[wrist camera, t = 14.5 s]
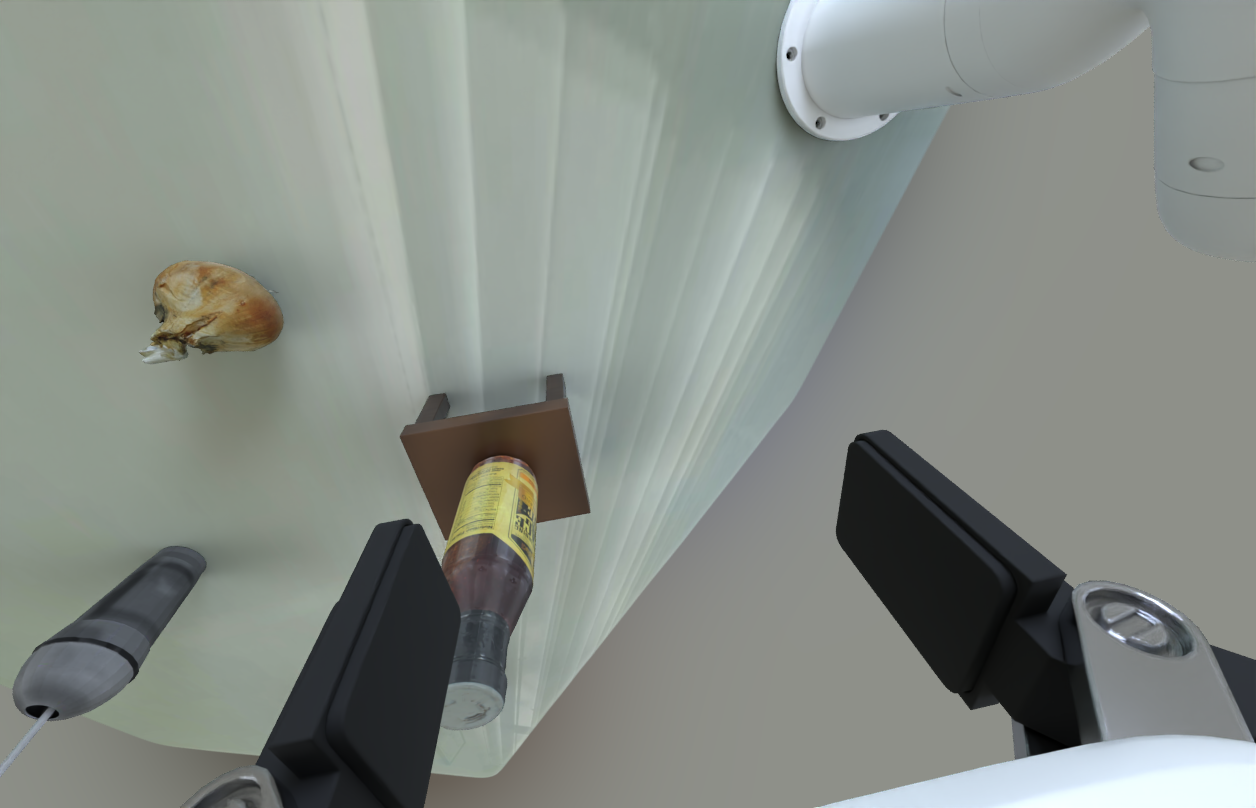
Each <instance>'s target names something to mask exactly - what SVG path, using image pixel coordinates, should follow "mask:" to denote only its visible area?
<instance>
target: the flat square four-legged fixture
mask: <svg viewBox="0 0 1256 808" xmlns="http://www.w3.org/2000/svg"><path fill="white" fill-rule="evenodd" d="M449 408H450V405H449V402H448V399H447V396H446V394H445V393H443V394H437V395H431V396H429V398H428V399H427V401H426V403H425V405H424V407H423V409H422V411H421V413H420V415H419V417H418V419H417V420H416V422H415V424H412V425H406V426H405V428H404V430H403V431H402V433H401V435H400V438H401V441H402V443H403V445H404V448H405V450H406V452H407V454H408V457H409V459H410V461H411V463H412V466H413V468H414V470H415V473H416V475H417V477H418V479H419V482H420V484H421V486H422V488H423V491H424V493H425V495H426V498H427V500H428V502H429V504H430V507H431V509H432V511H433V513H434V516H435V518H436V520H437V523H438V525H439V527H440V529H441V532H442V534H443V536H444V538H445V540H448V539H449V536H450V532H451V529H452V526H453V523H454V519H455V516H456V513H457V509H458V506H459V503H460V500H461V496H462V493H463V490H464V486H465V483H466V481H467V479H468V477H469V476H470V474H471V472H472V470H473V468H474V467H475V465H476V464H478V463H479V462H481V461H483V460H485V459H488V458H490V457H494V456H509V457H513V458H516V459H520V460H522V461H523V462H525V463H526V464H528V466H529V467H530V469H532V471H533V473H534V475H535V478H536V481H537V487H538V503H537V523H540V522H545V521H551V520H556V519H561V518H566V517H572V516H577V515H582V514H587V513H590V504H589V498H588V493H587V488H586V483H585V478H584V474H583V469H582V464H581V459H580V454H579V450H578V445H577V440H576V435H575V431H574V426H573V421H572V416H571V411H570V407H569V402H568V398H566V387H565V382H564V377H563V374H556V375H550V376H547V391H546V401H545V402H540V403H534V404H528V405H522V406H516V407H511V408H505V409H499V410H493V411H487V412H481V413H476V414H470V415H464V416H458V417H452V418H447V419H445V418H446V416H447V413H448V411H449Z"/></svg>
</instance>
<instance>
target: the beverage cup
mask: <svg viewBox="0 0 1256 808" xmlns="http://www.w3.org/2000/svg"><path fill="white" fill-rule="evenodd" d="M205 568H206V561H205V559H204V558H203V557H202V556H201V555H200V554H199V553H197V552H195V551H194V550H191V549H188V548H185V547H178V546H176V547H167V548H164V549H162V550H161V551H159V552H158V553H157V554H156V555H155V556H153V557H152V558H151V559H149V560H148V561H146V562H145V563H144V564H142V565H141V566H140V567H139V568H138V569H136V570H135V571H134V572H133V573H132V574H131V575H129V576H128V577H127V578H126V579H125V580H123V581H122V582H121V583H120V584H119V585H117V586H116V587H115V588H114V589H113V590H111V591H110V592H109V593H108V594H107V595H105V596H104V597H103V598H102V599H101V600H99V601H98V602H97V603H96V604H95V605H93V606H92V607H91V608H90V609H89V610H88V611H86V612H85V613H84V614H83V615H82V616H80V617H79V618H78V619H77V620H76V621H74V622H73V623H71V624H70V625H68V626H67V627H65V628H64V629H62V630H61V631H60V632H58V633H57V634H55V635H54V636H53V637H51V638H50V639H48V640H47V641H45V642H44V643H42V644H41V645H39V646H38V647H36V648H35V650H34V651H33V653H32V655H31V656H30V657H29V658H28V659H27V661H26V662H25V663H24V665H23V666H22V668H21V670H20V672H19V674H18V676H17V678H16V680H15V682H14V686H13V699H14V702H15V705H16V707H17V708H18V709H19V710H20V711H21V713H22V714H24V715H26V716H28V717H31V718H33V719H37V721H36V723H35V724H34V725H33V726H32V728H31V729H30V730H29V731H28V732H27V734H26V735H25V736H24V737H23V738H22V740H21V741H20V742H19V743H18V744H17V746H16V747H15V748H14V749H13V750H12V752H11V753H10V754H9V755H8V756H7V758H6V759H5V760H4V761H3V762H2V764H1V765H0V777H1V776H2V775H3V773H4V772H5V771H6V770H7V768H8V767H9V766H10V765H11V764H12V762H13V761H14V760H15V758H16V757H17V756H18V755H19V754H20V753H21V751H22V750H23V749H24V748H25V746H26V745H27V744H28V743H29V742H30V740H31V739H32V738H33V737H34V736H35V734H36V733H37V732H38V731H39V729H40V728H41V727H42V726H43V725H44V723H45V722H46V721H56V720H64V719H68V718H72V717H75V716H78V715H82V714H84V713H87V712H89V711H91V710H93V709H95V708H97V707H98V706H100V705H102V704H103V703H105V702H107V701H108V700H110V699H111V698H112V697H114V696H115V695H117V694H118V693H119V692H120V691H121V690H122V689H123V688H124V687H125V686H126V685H127V684H128V683H130V682H131V681H132V680H133V679H135V677H136V675H137V674H138V672H139V668H140V667H141V665H142V664H143V662H144V660H145V658H146V656H147V655H148V653H149V651H150V648H151V646H152V645H153V644H154V642H155V641H156V639H157V638H158V636H159V635H160V634H161V632H162V631H163V629H164V628H165V627H166V625H167V624H168V622H169V621H170V619H171V618H172V617H173V615H174V614H175V612H176V611H177V609H178V608H179V607H180V605H181V604H182V602H183V601H184V600H185V598H186V597H187V595H188V594H189V592H190V591H191V590H192V588H193V587H194V585H195V584H196V582H197V581H198V579H199V577H200V575H201V574H202V572H203V571H204V570H205Z"/></svg>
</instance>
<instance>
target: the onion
mask: <svg viewBox="0 0 1256 808" xmlns="http://www.w3.org/2000/svg"><path fill="white" fill-rule="evenodd" d="M268 291H270V290H266V289H265V288H264V287H263V286H262V285H261V284H260V283H259V282H258V281H256V280H255V278H254V277H251V276H249V275H248V274H246V273H245V272H243V271H241V270H239V269H236V268H233V267H230V266H227V265H223V264H219V263H213V262H205V261H182V262H179V263H176V264H174V265H171V266H170V267H168V268H167V269H165V270H164V271H163V272H162V273H161V274H159V276H158V277H157V278H156V280H155V284H154V288H153V301H154V304H155V312H154V314H155V315H156V317H157V318H158V319H159V320H160V322H159V323H161V322H164V323H163V324H162V326H161V327H160V328H158V329H157V330H156V332H155V333H154V334H153V335H152V336H151V340H152V341H154V342H152V343H151V344H150V345H151V346H149V347H147V348H145V349H143V350H141V351H140V352H139V353H140V354H141V355H143V356H145V358H144V359H142V361H143V362H144V363H147V364H156V363H162V362H167V361H175V360H179V361H180V360H181V359H185V358H187V357H188V352H187V348H186V346H187V345H188V346H190V347H193V348H199V349H201V351H202V354H203V355H204V354H205V353H209V354H211V353H213V352H217V351H218V352H228V351H255V350H258V349H260V348H262V347H264V346H267V345H268V344H270V343H271V342H273V341H275V340H276V339H277V338H278V336H279V334H280V332H281V330H282V328H283V323H284V321H283V315H282V312H281V310H280V307H279V305H278V303H277V301H276V300H275V299H274V298H273V296H272V295H271V294H270V293H269V292H268ZM270 292H275V291H270ZM276 293H278V292H276Z"/></svg>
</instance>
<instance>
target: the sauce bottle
mask: <svg viewBox="0 0 1256 808" xmlns="http://www.w3.org/2000/svg"><path fill="white" fill-rule="evenodd" d="M537 503H538V487H537V481H536V478H535V475H534V473H533V471H532V469H530V467H529V466H528V464H526V463H525V462H523V461H522V460H520V459H516V458H513V457H509V456H494V457H490V458H488V459H485V460H483V461H481V462H479V463H478V464H476V465H475V467H474V468H473V470H472V472H471V474H470V476H469V477H468V479H467V481H466V483H465V486H464V490H463V493H462V496H461V500H460V503H459V506H458V509H457V513H456V516H455V519H454V523H453V526H452V529H451V532H450V536H449V539H448V543H447V546H446V549H445V553H444V556H443V559H442V570H443V573H444V575H445V577H446V579H447V581H448V583H449V585H450V588H451V590H452V592H453V594H454V596H455V598H456V601H457V603H458V605H459V608H460V612H461V623H460V629H459V634H458V639H457V644H456V649H455V654H454V659H453V664H452V669H451V674H450V679H449V684H448V689H447V694H446V699H445V704H444V709H443V714H442V719H441V724H440V726H441V727H443V728H446V729H450V730H469V729H474V728H478V727H480V726H484V725H486V724H487V723H489V722H491V721H492V720H493V719H495V718H496V717H497V716H498V715H499V713H500V712H501V711H502V709H503V706H504V703H505V695H506V689H507V678H506V675H505V668H506V656H507V647H508V644H509V640H510V636H511V634H512V632H513V630H514V628H515V626H516V624H517V621H518V619H519V617H520V615H521V613H522V611H523V609H524V607H525V604H526V602H527V600H528V598H529V596H530V594H531V592H532V588H533V577H534V558H535V545H536V544H535V542H536V523H537Z"/></svg>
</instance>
